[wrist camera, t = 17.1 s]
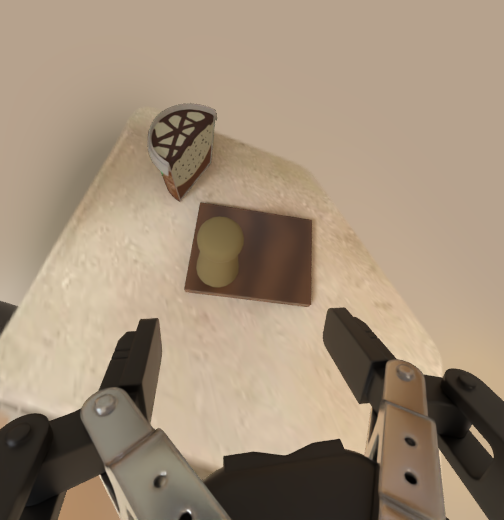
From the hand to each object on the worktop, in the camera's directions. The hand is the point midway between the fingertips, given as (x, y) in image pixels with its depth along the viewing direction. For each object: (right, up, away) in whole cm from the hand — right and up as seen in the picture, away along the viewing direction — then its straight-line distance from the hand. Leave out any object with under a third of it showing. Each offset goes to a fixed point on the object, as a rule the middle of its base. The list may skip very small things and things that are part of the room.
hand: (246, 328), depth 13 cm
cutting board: (0, +4, +29) cm, 30 cm away
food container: (-12, +18, +33) cm, 39 cm away
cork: (-5, +2, +26) cm, 27 cm away
